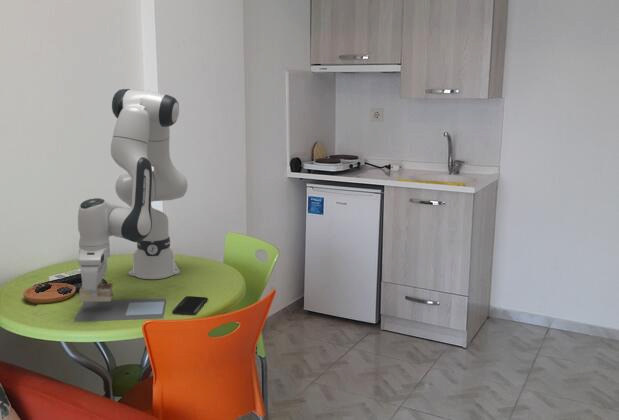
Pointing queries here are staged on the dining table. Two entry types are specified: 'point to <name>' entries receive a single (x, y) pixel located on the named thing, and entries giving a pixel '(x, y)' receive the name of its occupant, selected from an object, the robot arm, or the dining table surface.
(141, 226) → the robot arm
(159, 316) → the mat
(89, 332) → the dining table surface
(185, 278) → the dining table surface
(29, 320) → the dining table surface
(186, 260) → the dining table surface
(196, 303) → the phone
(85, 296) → the card box
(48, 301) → the saucer
